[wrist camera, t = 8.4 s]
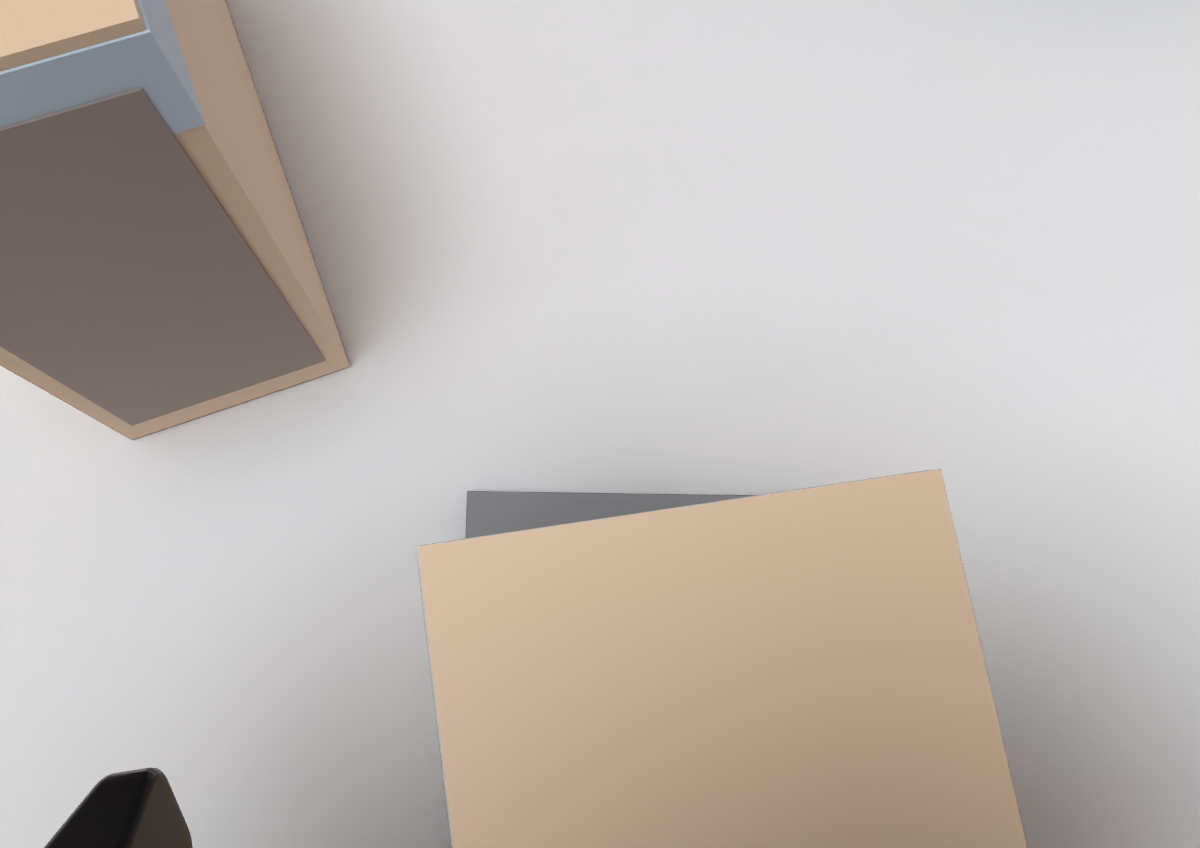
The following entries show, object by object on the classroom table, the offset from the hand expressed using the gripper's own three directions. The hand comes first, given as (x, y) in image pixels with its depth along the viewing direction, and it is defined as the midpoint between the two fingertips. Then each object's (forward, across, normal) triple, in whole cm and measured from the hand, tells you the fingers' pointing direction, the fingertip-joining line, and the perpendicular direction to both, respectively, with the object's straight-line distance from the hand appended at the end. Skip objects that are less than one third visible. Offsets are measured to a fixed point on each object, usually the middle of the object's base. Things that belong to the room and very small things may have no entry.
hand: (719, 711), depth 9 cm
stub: (+8, 0, +8) cm, 12 cm away
